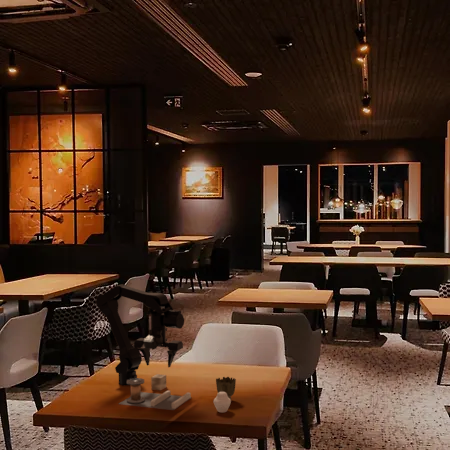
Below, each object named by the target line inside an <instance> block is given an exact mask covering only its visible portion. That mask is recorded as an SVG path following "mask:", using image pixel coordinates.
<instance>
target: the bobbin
mask: <svg viewBox="0 0 450 450" xmlns="http://www.w3.org/2000/svg"><path fill="white" fill-rule="evenodd" d="M127 384H129V385H128V386H130V396H129V397H128V398H126V399H127V402H128V403H130V404H139V403H143V402H144V401H145V398H144V397H141V392H142V388H141V386H142V385H143V384H145V378H140V377H137V378H132V379H128V380H127Z"/></svg>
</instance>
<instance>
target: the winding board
mask: <svg viewBox="0 0 450 450" xmlns="http://www.w3.org/2000/svg"><path fill="white" fill-rule="evenodd" d="M141 397H144V398H145V401H144V402H143V403H139V404H130V403H128V402H127V398H126V399H124V400H122V401H121V402H119V403H118V405H123V406H134V407H142V408H151V409H160V410H168V411H175V410H176V409H178V408H179V407H180V406H182V405H183V404H184V403H186V402H188V401H189V400H191V399H192V397H191V392H186V393H185V394H183V395H172V394H171V390H166V391H164V392H163V393H155V392H144V391H141Z"/></svg>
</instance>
